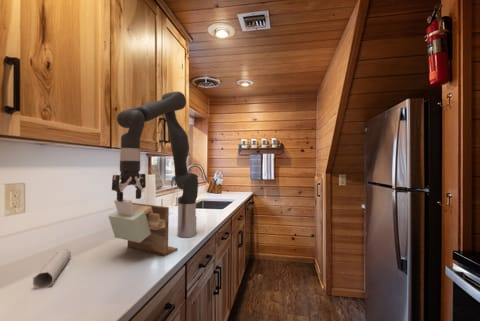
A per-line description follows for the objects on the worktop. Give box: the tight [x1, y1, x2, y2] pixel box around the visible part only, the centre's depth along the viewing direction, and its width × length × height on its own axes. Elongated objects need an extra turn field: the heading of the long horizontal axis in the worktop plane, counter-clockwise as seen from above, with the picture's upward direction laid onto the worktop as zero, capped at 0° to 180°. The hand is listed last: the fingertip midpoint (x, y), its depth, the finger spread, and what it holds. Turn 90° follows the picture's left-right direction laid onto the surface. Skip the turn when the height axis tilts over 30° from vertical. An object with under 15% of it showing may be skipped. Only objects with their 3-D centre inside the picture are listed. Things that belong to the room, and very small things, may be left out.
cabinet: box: [108, 198, 153, 243], centre depth 101 cm, size 10×14×16 cm
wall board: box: [127, 202, 179, 257], centre depth 109 cm, size 12×22×20 cm, turn 64°
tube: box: [32, 248, 72, 290], centre depth 88 cm, size 5×5×25 cm
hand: (129, 200), depth 100 cm, fingers open, 8 cm apart
